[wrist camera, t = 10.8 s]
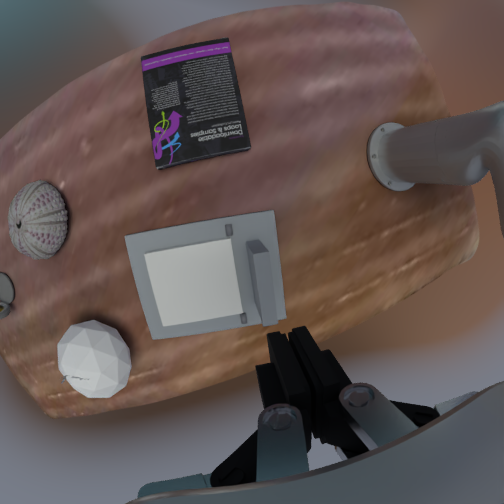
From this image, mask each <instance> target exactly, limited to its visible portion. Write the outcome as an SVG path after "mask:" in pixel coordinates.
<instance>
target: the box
mask: <svg viewBox="0 0 504 504" xmlns="http://www.w3.org/2000/svg"><path fill="white" fill-rule="evenodd" d="M141 63H142V71H143V81H144V89H145V97H146V105H147V113H148V120H149V127H150V133H151V139H152V145H153V151H154V158H155V164H156V168H157V169H159V170H161V169H164V168H168V167H172V166H176V165H180V164H184V163H188V162H192V161H197V160H201V159H206V158H210V157H215V156H220V155H225V154H231V153H236V152H242V151H248V150H249V149H250V148H251V145H250V140H249V135H248V130H247V125H246V120H245V115H244V110H243V105H242V100H241V95H240V90H239V86H238V81H237V76H236V71H235V67H234V62H233V58H232V53H231V48H230V43H229V39H228V38H221V39H216V40H210V41H205V42H199V43H194V44H189V45H185V46H180V47H176V48H172V49H168V50H164V51H160V52H157V53H153V54H149V55H145V56H142V57H141Z"/></svg>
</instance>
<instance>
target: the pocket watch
mask: <svg viewBox="0 0 504 504" xmlns="http://www.w3.org/2000/svg"><path fill="white" fill-rule="evenodd" d="M13 299H14V288H13V285H12V282H11V280H10V279H9V277H8V276H7V275H6V274H4V273H0V300H1V301H2V302H0V319H2V318H5V317H6V316H8V315H9V313H10V306H9V303H11V302H12V301H13Z"/></svg>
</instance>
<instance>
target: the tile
mask: <svg viewBox="0 0 504 504" xmlns="http://www.w3.org/2000/svg"><path fill="white" fill-rule="evenodd" d="M144 256H145V260H146V265H147V269H148V273H149V277H150V281H151V285H152V289H153V293H154V296H155V300H156V304H157V307H158V311H159V314H160V318H161V321H162V324H163V327H164V326H171V325H178V324H184V323H190V322H196V321H202V320H208V319H214V318H219V317H225V316H230V315H236V314H241V313H243V310H242V304H241V298H240V293H239V287H238V281H237V275H236V269H235V263H234V256H233V250H232V244H231V238H224V239H218V240H213V241H207V242H201V243H196V244H190V245H185V246H179V247H174V248H168V249H163V250H157V251H152V252H147V253H145V254H144Z"/></svg>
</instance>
